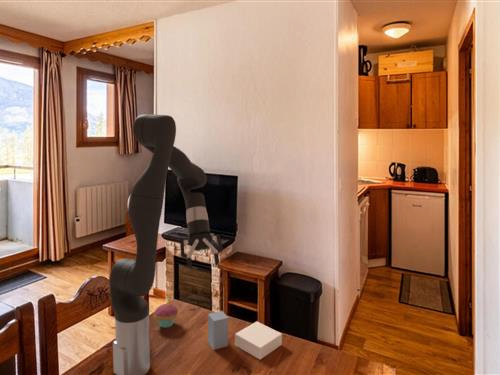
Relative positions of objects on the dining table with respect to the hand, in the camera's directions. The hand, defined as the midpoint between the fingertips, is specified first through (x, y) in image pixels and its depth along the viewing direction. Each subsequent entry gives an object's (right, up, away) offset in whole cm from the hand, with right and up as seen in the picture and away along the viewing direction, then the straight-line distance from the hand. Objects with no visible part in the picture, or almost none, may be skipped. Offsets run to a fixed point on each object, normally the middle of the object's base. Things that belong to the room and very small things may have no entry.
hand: (204, 267), depth 118 cm
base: (+18, -25, -2) cm, 31 cm away
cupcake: (-15, -23, +9) cm, 29 cm away
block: (+5, -25, -2) cm, 25 cm away
